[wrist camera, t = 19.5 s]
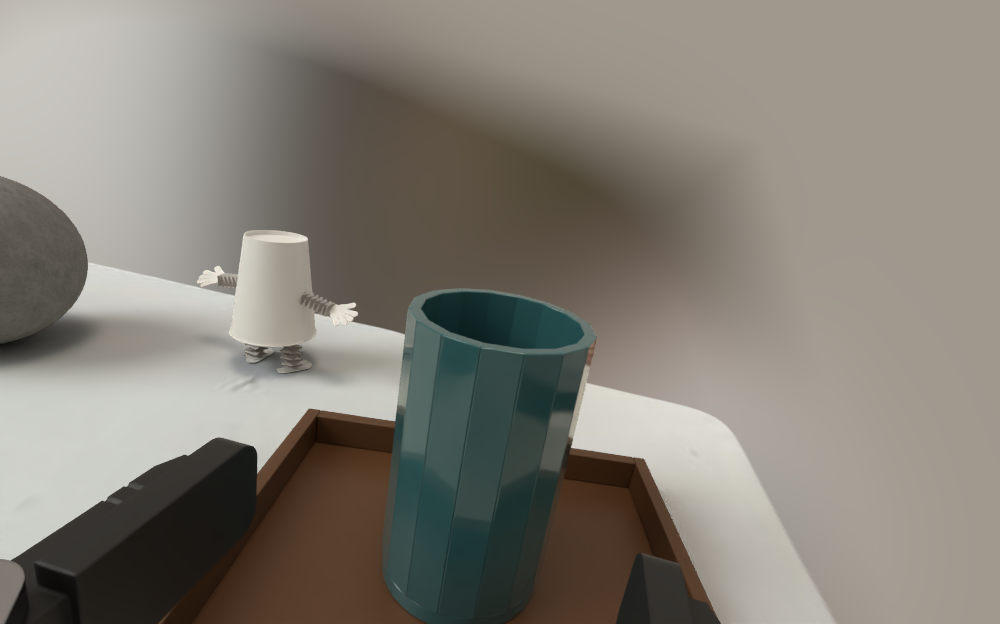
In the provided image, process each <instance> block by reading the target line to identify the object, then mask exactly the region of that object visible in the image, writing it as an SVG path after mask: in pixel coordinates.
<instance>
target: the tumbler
mask: <svg viewBox="0 0 1000 624" xmlns="http://www.w3.org/2000/svg"><path fill="white" fill-rule="evenodd" d="M596 340H597V336H596V334H595V332H594V330H593V329H592V327H591V325H590V324H589V323H587V322H586V321H584V320H583V319H581V318H580V317H578V316H577V315H575V314H574V313H572V312H570V311H567V310H565V309H562V308H560V307H558V306H555V305H553V304H550V303H547V302H544V301H540V300H537V299H533V298H529V297H525V296H522V295H517V294H511V293H505V292H498V291H492V290H482V289H462V288H460V289H459V288H457V289H446V290H435V291H431V292H428V293H425V294H422V295H419V296H417V297H415V298H414V300H413V301H412V303H411V304H410V306H409V307H408V314H407V323H406V332H405V341H404V350H403V359H402V368H401V377H400V386H399V395H398V404H397V413H396V422H395V431H394V440H393V449H392V457H391V466H390V475H389V484H388V493H387V502H386V511H385V520H384V529H383V538H382V563H381V564H382V573H383V576H384V580H385V583H386V585H387V587H388V589H389V591H390V593H391V594H392V596H393V597H394V599H395V600H396V601H397V602H398V603H399V604H400V605H401V606H402V607H403V608H404V609H405V610H406V611H407V612H409V613H410V614H411V615H413V616H414V617H416V618H417V619H419V620H421V621H423V622H425V623H427V624H503V623H505V622H507V621H509V620H510V619H512V618H513V617H515V616H516V615H517V614H518V613H519V612H521V611H522V610H523V609H524V608H525V606H526V605H527V604H528V603H529V601H530V599H531V598H532V596H533V594H534V591H535V589H536V586H537V582H538V577H539V575H540V573H541V570H542V566H543V562H544V558H545V554H546V549H547V545H548V541H549V537H550V533H551V529H552V524H553V520H554V516H555V512H556V508H557V503H558V499H559V495H560V491H561V487H562V482H563V478H564V474H565V470H566V466H567V461H568V457H569V453H570V449H571V445H572V441H573V436H574V432H575V428H576V424H577V420H578V415H579V411H580V407H581V403H582V399H583V394H584V390H585V386H586V382H587V378H588V373H589V369H590V365H591V360H592V357H593V352H594V348H595V344H596Z"/></svg>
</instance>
